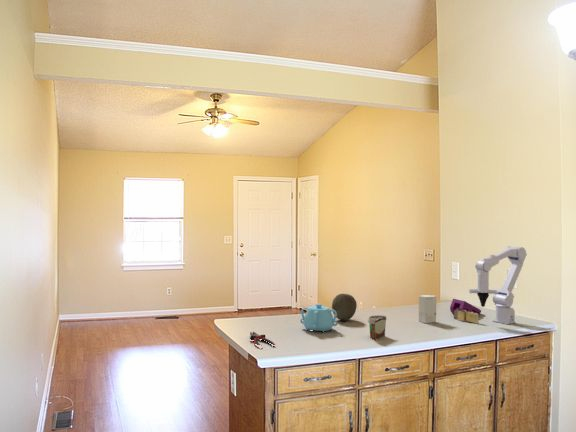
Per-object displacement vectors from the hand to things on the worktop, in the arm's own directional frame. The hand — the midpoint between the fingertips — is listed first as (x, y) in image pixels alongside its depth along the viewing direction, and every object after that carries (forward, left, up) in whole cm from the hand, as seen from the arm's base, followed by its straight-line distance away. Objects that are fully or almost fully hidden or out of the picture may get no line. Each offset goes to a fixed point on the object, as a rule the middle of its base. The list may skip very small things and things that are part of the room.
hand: (482, 306), depth 270 cm
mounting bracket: (+20, -15, -10) cm, 27 cm away
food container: (+14, +71, -10) cm, 73 cm away
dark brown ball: (+50, +59, -10) cm, 77 cm away
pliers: (+38, +123, -11) cm, 129 cm away
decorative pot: (+41, +85, -10) cm, 94 cm away
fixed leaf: (+13, +2, -10) cm, 17 cm away
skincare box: (+21, +22, -10) cm, 32 cm away
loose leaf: (+8, +2, -10) cm, 12 cm away
